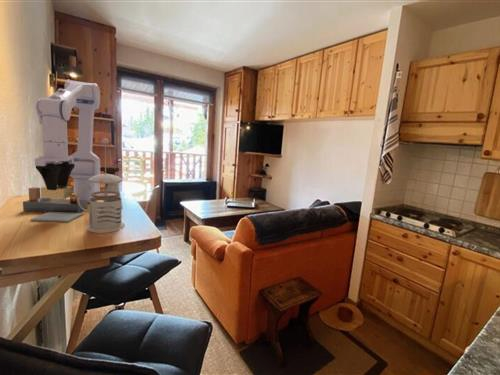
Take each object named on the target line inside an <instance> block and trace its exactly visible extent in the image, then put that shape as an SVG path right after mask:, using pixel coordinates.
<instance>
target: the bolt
mask: <svg viewBox="0 0 500 375" xmlns="http://www.w3.org/2000/svg"><path fill="white" fill-rule="evenodd" d="M100 171H101V172H103V174H104V173H105V165H103V166H101V167H100ZM117 172H120V167H118V166H116V165H115V166H114V165H113V166H111V165H106V173H107V174H111V175H115V176H116V173H117ZM107 185H108V184H107V183H106V189H107Z"/></svg>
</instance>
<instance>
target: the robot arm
mask: <svg viewBox="0 0 500 375" xmlns="http://www.w3.org/2000/svg"><path fill="white" fill-rule="evenodd" d="M100 90H101V89H100V86H99V85H98V84H97V83H95V82H93V83H91V82H84V81H77V80H72V79H67V80H65V82H64V88H57V91H55V92H54V93H53V94H51V95H50V96H48V97H42V98H39V99H38V100H36V104H35V105H36V106H35V111H36V115H37V116H38V122H39V124H40V125H41V136H42V138H41V139H42V153H43V154H42V155H41V156H39V157H37V158H34V166H35V169H36V170H37V172H38V173H39V174H40V176H41V178H42V179H43V182H44V184H45V186H46V187H47V190H56V189H57V186H68V183H69V179H70V177H71V179H73V194H78V192H79V190H80V189H81V188H82V187H83V186H85V185H90V186H91V191H90V190H89V187H87V186H85V187H87V188H85V187H83V188H85V189H84V190H83V191H82V192H81V191H80V192H81V194H80V192H79V194H80V197H79V199H80V200H88V203H90V199H91V198H94V197H93V196H92V195H91V193H94V192H99V191H101V188H100V185H101V183H92V182H90V181H89V179H90V178H91V177H93V176H95V175H100V174H102V173H101V172H102V171H100V167H102V166H101V159H100V157H99V156H98V155H97V154H95V153H94V152H93V145H94V144H93V143H94V142H93V141H94V121H95V120H94V118H95V111H96V110H98V109H100V105H101V91H100ZM73 108H77V109H78V126H77V127H78V129H77V130H78V131H77V148H76V149H77V150H76V151H75V152H74V153H72V154H71V155H69V147H68V145H69V141H68V121H70V120H71V119H70V118H71V113H72V109H73ZM83 188H82V189H83ZM82 189H81V190H82Z"/></svg>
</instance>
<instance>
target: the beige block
mask: <svg viewBox="0 0 500 375" xmlns="http://www.w3.org/2000/svg"><path fill="white" fill-rule="evenodd" d="M72 194H73V186H69V185H67V186H58V185H57V189H56V190H47V187H46V185H45V186H41V187H40V198H51V199H67V198H68V199H69V198H70V197H71V196H72Z"/></svg>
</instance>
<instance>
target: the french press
mask: <svg viewBox="0 0 500 375" xmlns="http://www.w3.org/2000/svg"><path fill="white" fill-rule="evenodd" d="M101 143H102V144H104V166H105V173H104V172H103V173H100V175H95V176H93V177H91V178H90V179H89V181H90V182H92V183H100V184H104V191H103V190H100V191H99V192H94V193H91V195H92V196H93V197H94V198H91V199H90V202H89V209H84V208H82V207H81V205H80V202H79V197H80V194H81V192H82V191H83V190H84V189H85V188H87V187H89V190H90V191H91V186H90V185H85V186H87V187H85V186H83V187H85V188H83V187H82V188H83V189H82V188H81V189H82V190H81V189H80V190H79V192H80V191H81V192H80V194H79V192H78V194H77V202H78V205H79V206H80V208H81V209H83V210H84V211H83V212H87V213H88V214H89V215H88V218H89V224H88V225H87V226H86V229H85V230H86V231H88V232H91V233H99V234H100V233H102V234H105V233H113V232H116V231H117V232H118V231H120V230H123V229H124V228H125V227H126V224H125V223H124V222H123V221H122V211H121V201H122V197H121V198H120V197H117V196H119V195H120V196H121V192H120V193H119V192H114V191H110V192H109V191H106V183H118V182H120V183H121V182H122V181H123V179H122V178H121V177H120V176H118V175H116V174H115V175H111V174H107V173H106V166H107V149H106V148H107V146H106V144H110V140H109V139H108V138H102V139H101ZM117 176H118V177H117ZM118 184H119V183H118ZM78 195H79V197H78ZM101 201H102V202H101ZM104 201H106V202H104ZM103 206H108V207H111V208H117V210H113V209H109V208H105V207H103ZM105 211H111V212H116V213H117V214H112V213H108V212H105ZM106 215H109V216H114V217H109V216H106Z"/></svg>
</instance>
